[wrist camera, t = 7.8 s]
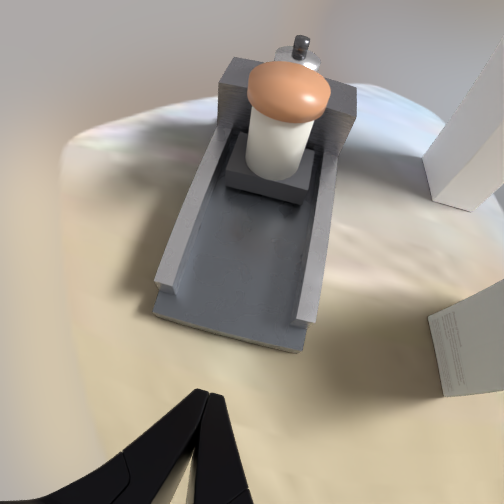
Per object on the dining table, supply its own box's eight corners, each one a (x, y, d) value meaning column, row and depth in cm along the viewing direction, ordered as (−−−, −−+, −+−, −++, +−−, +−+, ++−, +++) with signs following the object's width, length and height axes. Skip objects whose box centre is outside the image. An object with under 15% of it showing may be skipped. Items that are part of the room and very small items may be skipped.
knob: (300, 209, 24) (338, 120, 15) (223, 189, 24) (228, 93, 15) (309, 163, 26) (341, 76, 17) (239, 145, 26) (249, 53, 17)
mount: (296, 353, 21) (337, 333, 14) (156, 316, 21) (125, 278, 14) (330, 143, 30) (356, 81, 22) (231, 118, 30) (237, 51, 22)
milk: (420, 157, 31) (519, 0, 11) (460, 171, 31) (560, 36, 11) (432, 202, 28) (561, 36, 8) (473, 214, 28) (597, 76, 8)
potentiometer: (309, 99, 20) (323, 54, 17) (265, 87, 20) (274, 41, 17) (316, 78, 22) (328, 36, 18) (276, 67, 22) (284, 24, 18)
